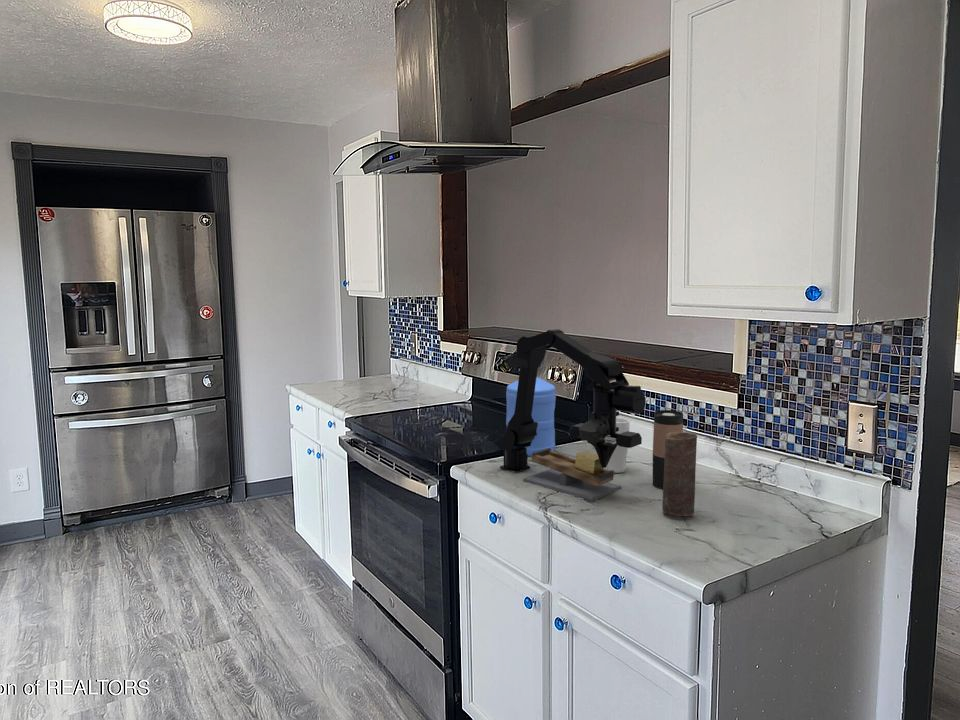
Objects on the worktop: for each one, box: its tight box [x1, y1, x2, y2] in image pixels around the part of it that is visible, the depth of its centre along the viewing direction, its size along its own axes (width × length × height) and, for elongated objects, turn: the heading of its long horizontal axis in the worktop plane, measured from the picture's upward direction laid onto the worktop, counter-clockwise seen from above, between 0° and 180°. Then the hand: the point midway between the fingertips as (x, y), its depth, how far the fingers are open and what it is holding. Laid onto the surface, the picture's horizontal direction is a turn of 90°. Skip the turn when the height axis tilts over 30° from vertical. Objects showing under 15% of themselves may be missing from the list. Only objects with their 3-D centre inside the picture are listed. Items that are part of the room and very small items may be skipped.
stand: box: [522, 468, 622, 502], centre depth 188 cm, size 23×13×4 cm, turn 46°
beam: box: [531, 448, 615, 486], centre depth 188 cm, size 22×7×2 cm, turn 46°
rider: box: [575, 450, 604, 476], centre depth 184 cm, size 6×4×5 cm
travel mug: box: [652, 409, 684, 490], centre depth 186 cm, size 8×8×20 cm
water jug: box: [505, 376, 557, 457], centre depth 221 cm, size 16×16×28 cm
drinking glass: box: [606, 417, 630, 474], centre depth 200 cm, size 7×7×15 cm
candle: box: [661, 431, 698, 517], centre depth 164 cm, size 8×7×20 cm
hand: (604, 467), depth 180 cm, fingers closed
